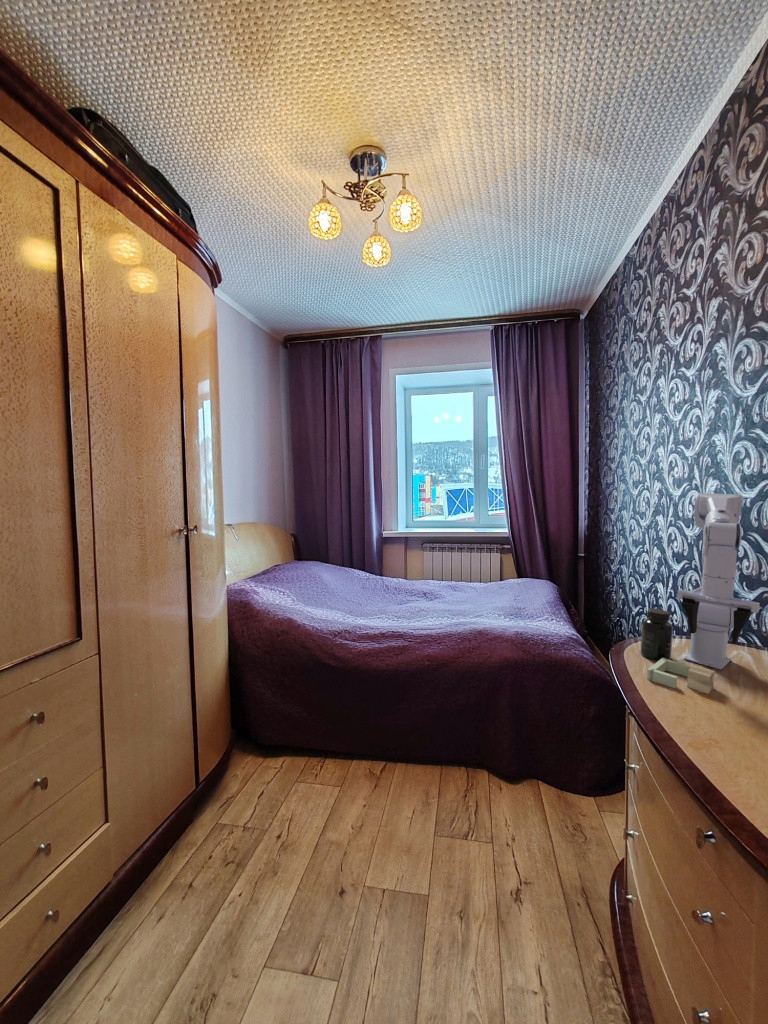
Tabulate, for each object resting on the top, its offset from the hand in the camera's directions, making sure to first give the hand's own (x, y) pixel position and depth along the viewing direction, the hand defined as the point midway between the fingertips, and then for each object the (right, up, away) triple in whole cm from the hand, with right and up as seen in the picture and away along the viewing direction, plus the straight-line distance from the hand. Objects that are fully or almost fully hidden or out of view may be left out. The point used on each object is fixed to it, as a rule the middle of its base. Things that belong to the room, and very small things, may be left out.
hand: (713, 637), depth 99 cm
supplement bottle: (-3, -10, +17) cm, 20 cm away
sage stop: (-7, -11, +5) cm, 14 cm away
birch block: (-3, -11, 0) cm, 12 cm away
